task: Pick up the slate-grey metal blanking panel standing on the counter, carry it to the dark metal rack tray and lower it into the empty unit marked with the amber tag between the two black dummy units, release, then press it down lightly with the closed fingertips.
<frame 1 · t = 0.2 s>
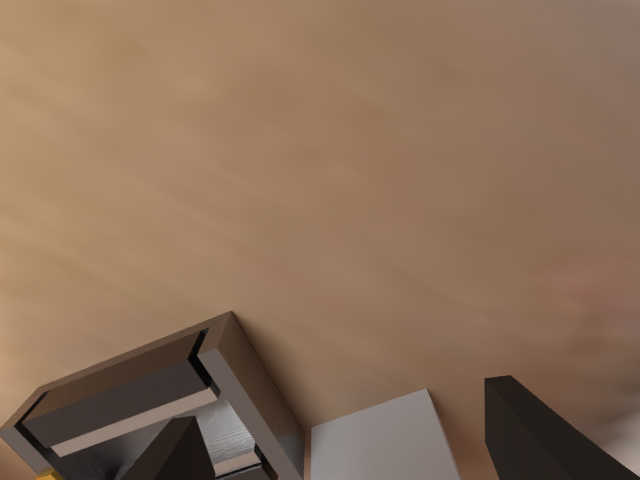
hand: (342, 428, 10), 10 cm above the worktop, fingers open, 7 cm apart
rack: (175, 410, 22), on the worktop
panel: (375, 421, 23), on the worktop
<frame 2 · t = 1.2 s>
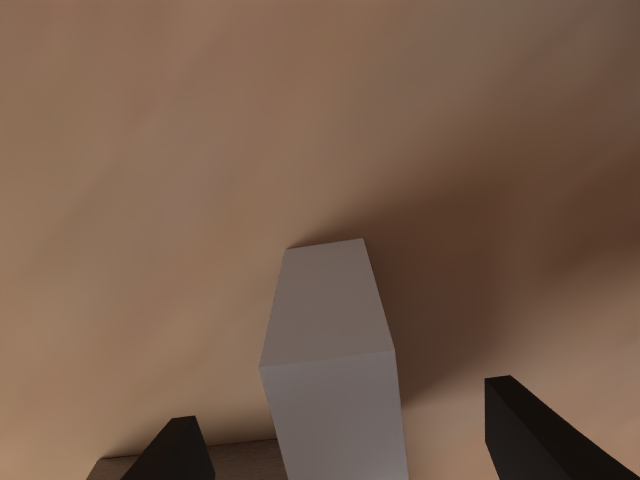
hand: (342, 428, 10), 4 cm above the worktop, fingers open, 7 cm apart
panel: (339, 338, 13), on the worktop
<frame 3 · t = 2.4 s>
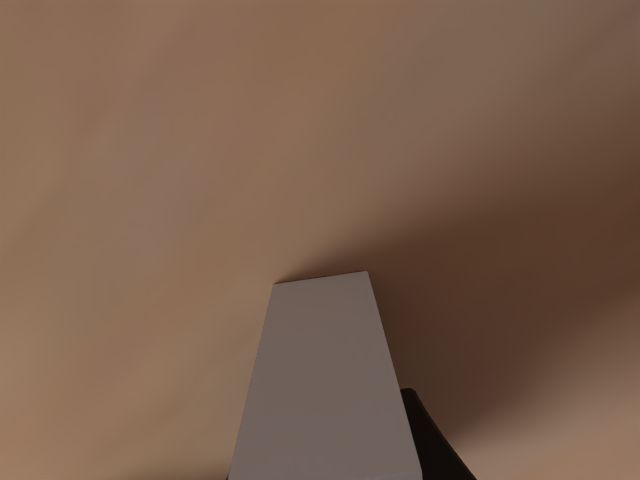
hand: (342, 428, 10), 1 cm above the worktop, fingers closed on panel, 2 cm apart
panel: (339, 387, 11), on the worktop, touching gripper
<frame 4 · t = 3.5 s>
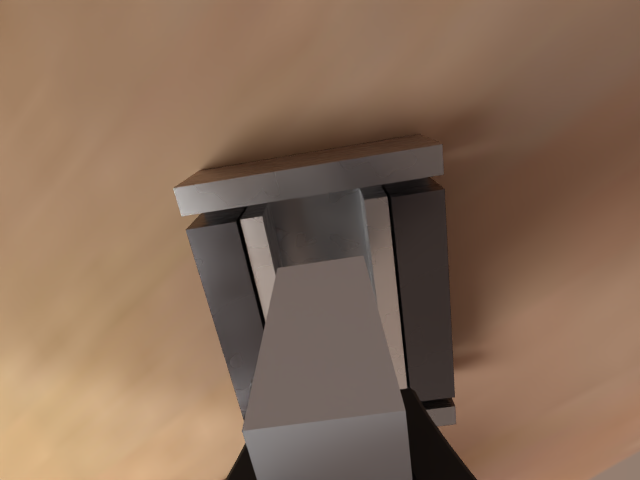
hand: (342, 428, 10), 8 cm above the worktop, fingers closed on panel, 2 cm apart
rack: (330, 284, 18), on the worktop
panel: (337, 363, 12), point 6 cm above the worktop, touching gripper
when the fingers open (4 cm above the worktop, at t = 4.7 s): panel stays where it is, resting on rack.
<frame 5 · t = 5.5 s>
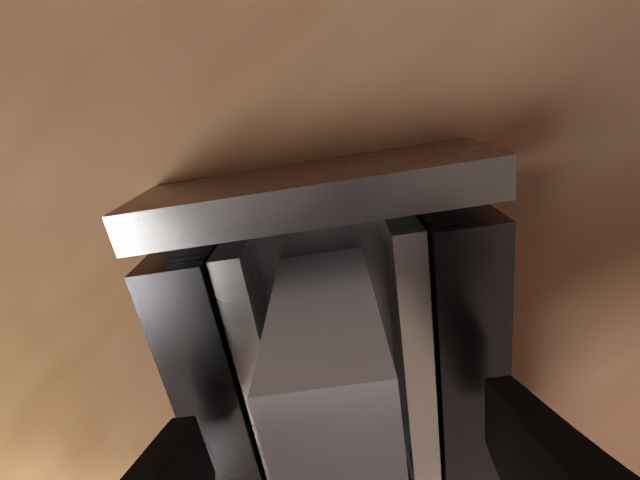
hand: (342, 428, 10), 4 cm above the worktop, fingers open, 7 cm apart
rack: (336, 337, 13), on the worktop
panel: (337, 352, 13), point 1 cm above the worktop, touching rack
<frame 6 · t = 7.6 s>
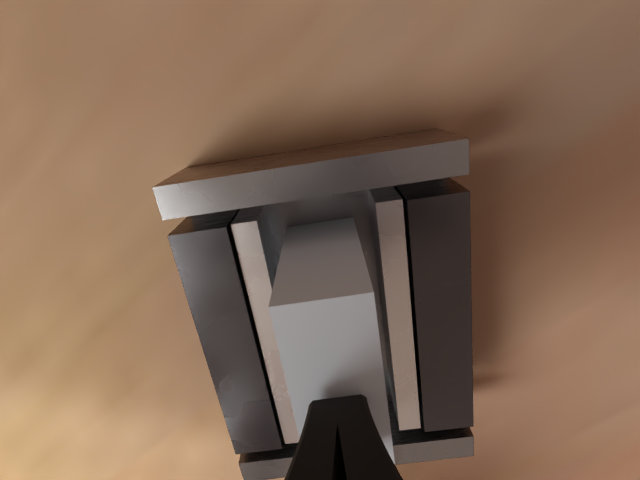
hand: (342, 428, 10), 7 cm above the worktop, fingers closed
rack: (333, 296, 16), on the worktop
panel: (334, 306, 15), point 1 cm above the worktop, touching rack
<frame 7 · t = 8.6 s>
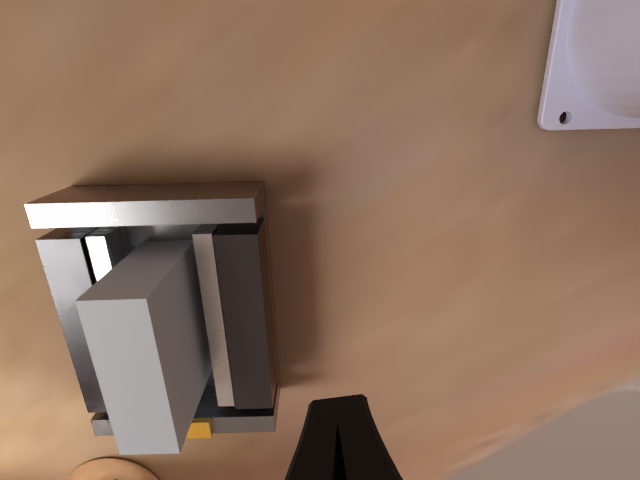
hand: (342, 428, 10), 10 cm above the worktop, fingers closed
rack: (186, 298, 20), on the worktop
panel: (181, 306, 19), point 1 cm above the worktop, touching rack
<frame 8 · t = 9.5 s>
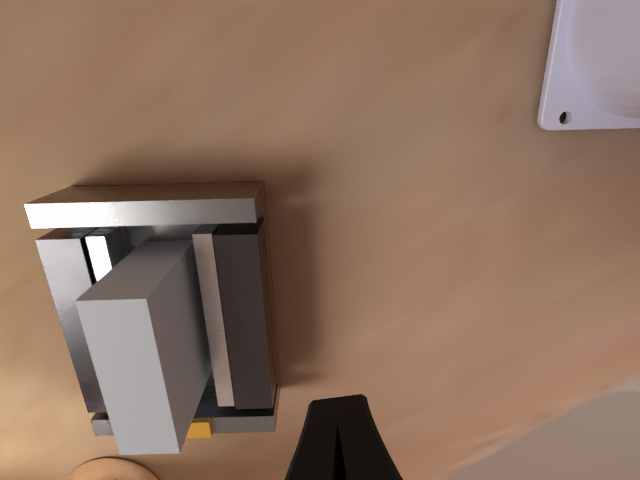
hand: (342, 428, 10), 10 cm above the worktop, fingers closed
rack: (186, 298, 20), on the worktop
panel: (181, 306, 19), point 1 cm above the worktop, touching rack
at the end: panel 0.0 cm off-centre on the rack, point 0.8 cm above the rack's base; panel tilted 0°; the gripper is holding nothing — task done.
